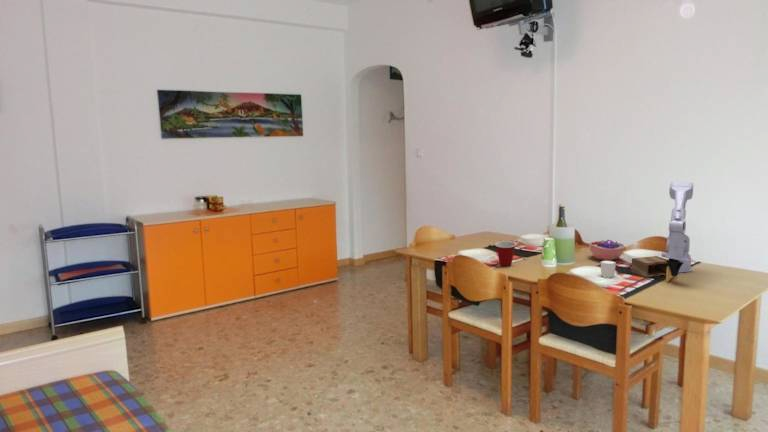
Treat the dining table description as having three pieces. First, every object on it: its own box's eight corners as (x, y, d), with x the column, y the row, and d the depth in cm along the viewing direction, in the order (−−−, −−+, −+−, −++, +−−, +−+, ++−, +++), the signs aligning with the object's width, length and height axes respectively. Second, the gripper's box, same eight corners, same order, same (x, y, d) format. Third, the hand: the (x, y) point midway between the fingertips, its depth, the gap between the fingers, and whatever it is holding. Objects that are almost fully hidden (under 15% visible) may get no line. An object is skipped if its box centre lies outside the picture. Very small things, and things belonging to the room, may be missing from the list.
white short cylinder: (606, 278, 255) (606, 264, 254) (596, 275, 261) (597, 261, 260) (618, 277, 257) (619, 263, 255) (608, 273, 263) (609, 259, 262)
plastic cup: (492, 267, 281) (492, 244, 279) (498, 262, 291) (498, 240, 289) (513, 269, 276) (513, 246, 274) (518, 264, 286) (518, 242, 284)
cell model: (616, 255, 300) (616, 235, 298) (628, 264, 280) (629, 242, 278) (584, 255, 301) (585, 235, 299) (595, 264, 282) (595, 243, 280)
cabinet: (655, 269, 268) (656, 255, 267) (670, 274, 258) (671, 260, 257) (631, 272, 264) (632, 258, 263) (645, 277, 255) (646, 263, 254)
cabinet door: (672, 274, 258) (673, 260, 257) (675, 274, 257) (676, 261, 256) (665, 281, 247) (666, 267, 246) (668, 281, 246) (668, 267, 245)
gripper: (656, 243, 249) (655, 272, 251) (681, 250, 235) (679, 280, 237) (669, 242, 250) (667, 271, 253) (694, 249, 237) (692, 279, 239)
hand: (674, 275), depth 245 cm, fingers closed
